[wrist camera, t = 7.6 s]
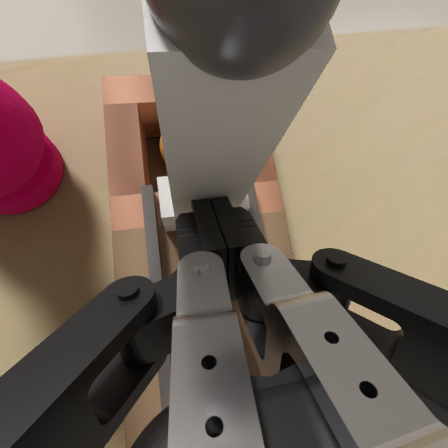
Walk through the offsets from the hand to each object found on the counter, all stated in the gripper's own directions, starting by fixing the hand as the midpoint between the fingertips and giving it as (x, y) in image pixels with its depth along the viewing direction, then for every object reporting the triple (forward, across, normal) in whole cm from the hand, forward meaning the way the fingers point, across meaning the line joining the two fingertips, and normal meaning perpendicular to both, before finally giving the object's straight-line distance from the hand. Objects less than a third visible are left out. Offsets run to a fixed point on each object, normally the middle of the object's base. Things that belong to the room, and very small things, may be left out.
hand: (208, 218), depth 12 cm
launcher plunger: (+4, 0, +2) cm, 5 cm away
